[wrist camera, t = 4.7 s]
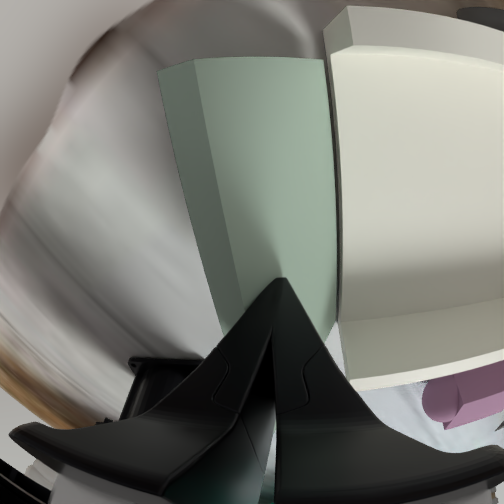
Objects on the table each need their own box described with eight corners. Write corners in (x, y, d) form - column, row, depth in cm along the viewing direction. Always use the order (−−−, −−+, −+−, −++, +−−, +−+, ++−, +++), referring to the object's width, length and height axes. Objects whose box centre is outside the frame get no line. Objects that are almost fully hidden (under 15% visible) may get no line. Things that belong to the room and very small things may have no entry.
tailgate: (319, 316, 17) (253, 425, 12) (299, 61, 10) (156, 70, 5) (335, 320, 17) (273, 433, 12) (323, 59, 10) (193, 58, 5)
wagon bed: (337, 338, 19) (345, 404, 15) (317, 3, 9) (338, -34, 5) (522, 306, 17) (550, 352, 12) (563, 55, 7) (620, 69, 3)
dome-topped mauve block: (411, 394, 22) (421, 436, 19) (424, 364, 20) (438, 411, 16) (503, 369, 21) (518, 404, 17) (521, 340, 19) (540, 376, 15)
